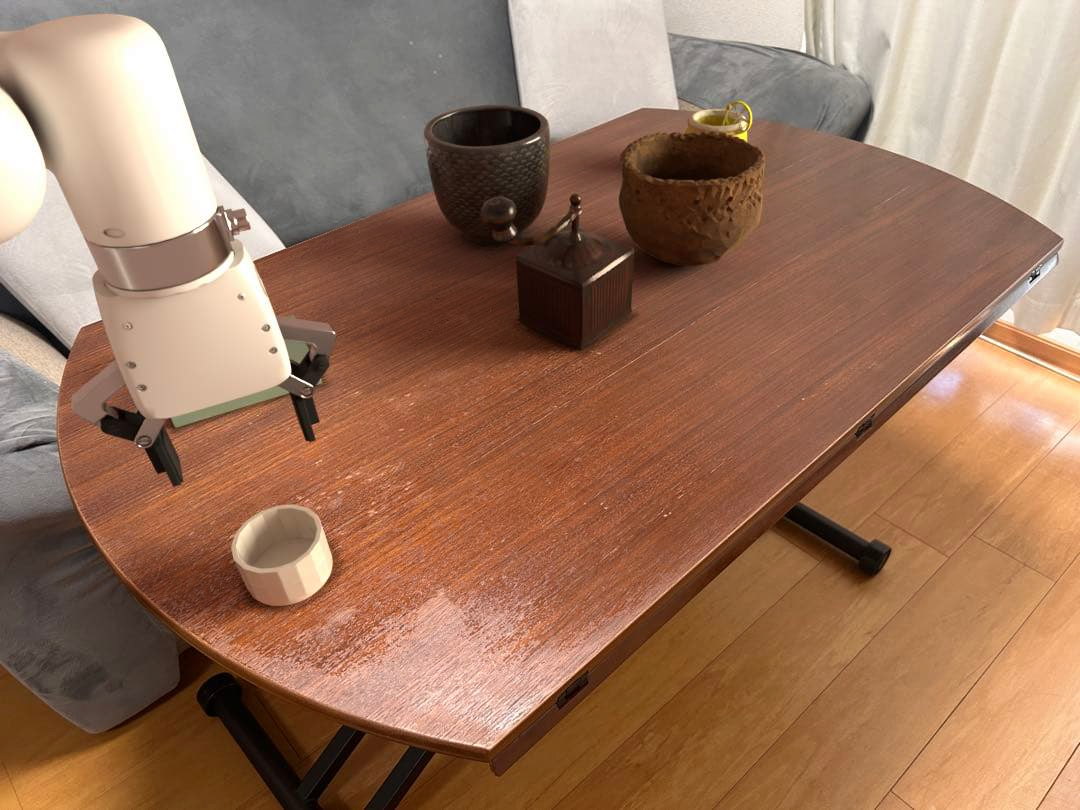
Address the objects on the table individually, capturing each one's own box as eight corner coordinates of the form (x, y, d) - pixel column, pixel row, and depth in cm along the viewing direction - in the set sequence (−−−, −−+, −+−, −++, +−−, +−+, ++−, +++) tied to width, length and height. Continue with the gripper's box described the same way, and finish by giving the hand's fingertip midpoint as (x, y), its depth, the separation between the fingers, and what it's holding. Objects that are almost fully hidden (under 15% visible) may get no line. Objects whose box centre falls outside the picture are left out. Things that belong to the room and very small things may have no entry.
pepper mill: (565, 286, 101) (563, 153, 89) (633, 314, 95) (641, 176, 83) (484, 339, 92) (470, 200, 80) (554, 373, 86) (550, 229, 74)
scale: (174, 428, 81) (164, 407, 79) (161, 360, 91) (152, 339, 89) (322, 383, 86) (316, 362, 84) (295, 323, 96) (289, 303, 94)
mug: (673, 154, 133) (679, 84, 126) (735, 151, 134) (744, 80, 126) (689, 184, 124) (696, 110, 116) (755, 180, 124) (767, 106, 116)
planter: (531, 267, 105) (526, 154, 94) (418, 252, 109) (401, 143, 99) (565, 213, 117) (564, 108, 107) (463, 202, 122) (452, 100, 111)
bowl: (588, 254, 107) (589, 150, 97) (680, 214, 116) (689, 115, 106) (686, 308, 95) (698, 196, 86) (780, 259, 104) (801, 153, 95)
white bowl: (255, 619, 62) (239, 585, 59) (240, 556, 67) (225, 523, 64) (342, 585, 64) (331, 551, 62) (321, 527, 70) (310, 493, 67)
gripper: (292, 191, 51) (343, 389, 62) (5, 254, 46) (117, 459, 57) (319, 237, 46) (369, 444, 57) (-2, 314, 40) (123, 527, 51)
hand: (243, 451), depth 57 cm, fingers open, 9 cm apart
